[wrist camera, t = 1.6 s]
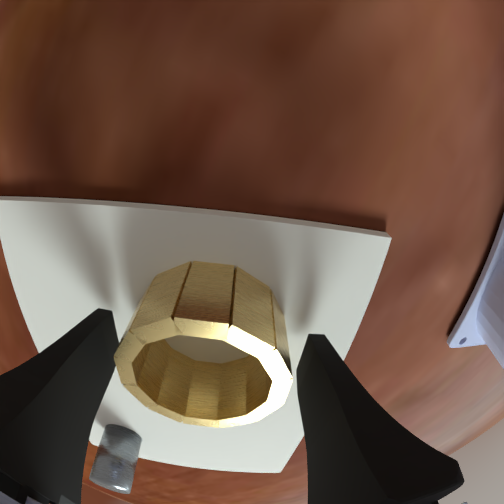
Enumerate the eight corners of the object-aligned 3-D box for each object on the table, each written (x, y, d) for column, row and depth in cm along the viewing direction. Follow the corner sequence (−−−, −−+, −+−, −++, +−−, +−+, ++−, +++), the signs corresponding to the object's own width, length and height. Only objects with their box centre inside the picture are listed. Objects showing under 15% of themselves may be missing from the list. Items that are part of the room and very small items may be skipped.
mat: (386, 232, 10) (391, 237, 10) (279, 467, 19) (280, 472, 19) (0, 196, 9) (-7, 199, 9) (93, 439, 18) (92, 444, 18)
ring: (295, 271, 10) (309, 330, 7) (269, 375, 13) (272, 431, 10) (135, 253, 10) (100, 304, 7) (148, 361, 12) (131, 413, 10)
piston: (138, 429, 16) (124, 486, 12) (144, 445, 17) (134, 496, 13) (100, 420, 16) (83, 473, 12) (110, 437, 17) (96, 485, 13)
